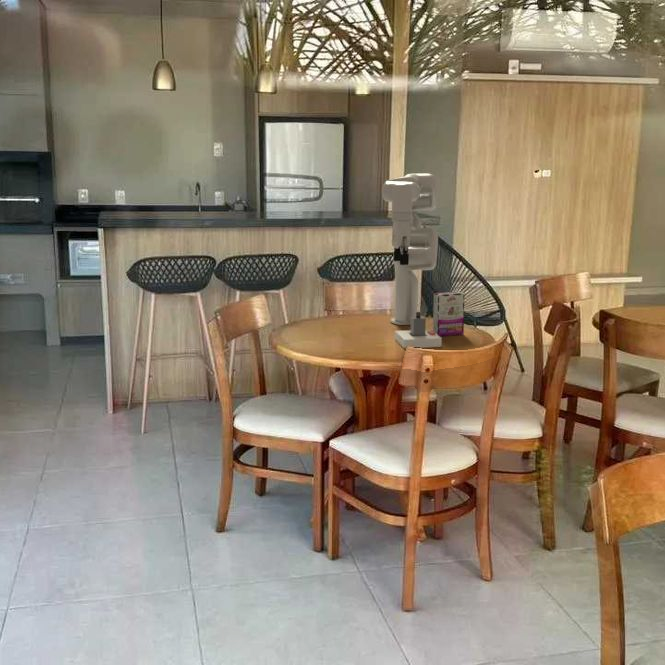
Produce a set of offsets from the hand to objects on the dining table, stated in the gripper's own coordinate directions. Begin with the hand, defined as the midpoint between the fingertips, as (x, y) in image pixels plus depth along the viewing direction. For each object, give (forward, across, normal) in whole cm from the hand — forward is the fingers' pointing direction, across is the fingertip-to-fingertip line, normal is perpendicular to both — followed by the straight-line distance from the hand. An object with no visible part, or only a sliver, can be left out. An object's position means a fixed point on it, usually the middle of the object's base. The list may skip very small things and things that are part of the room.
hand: (401, 262), depth 289 cm
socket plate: (+28, +12, +4) cm, 31 cm away
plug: (+28, +12, +4) cm, 30 cm away
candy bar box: (+28, +1, +19) cm, 34 cm away
